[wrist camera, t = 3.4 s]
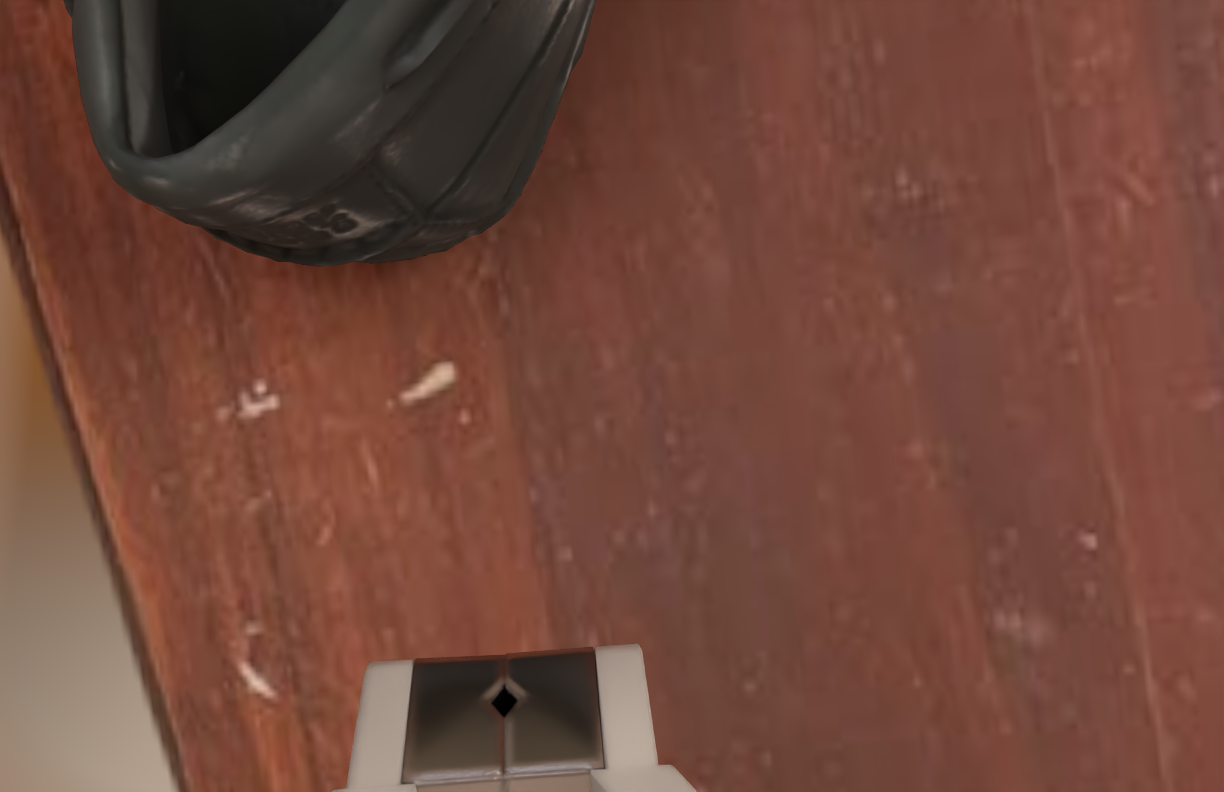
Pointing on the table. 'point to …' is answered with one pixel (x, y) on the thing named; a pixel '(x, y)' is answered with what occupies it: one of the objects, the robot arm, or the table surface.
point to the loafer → (326, 115)
